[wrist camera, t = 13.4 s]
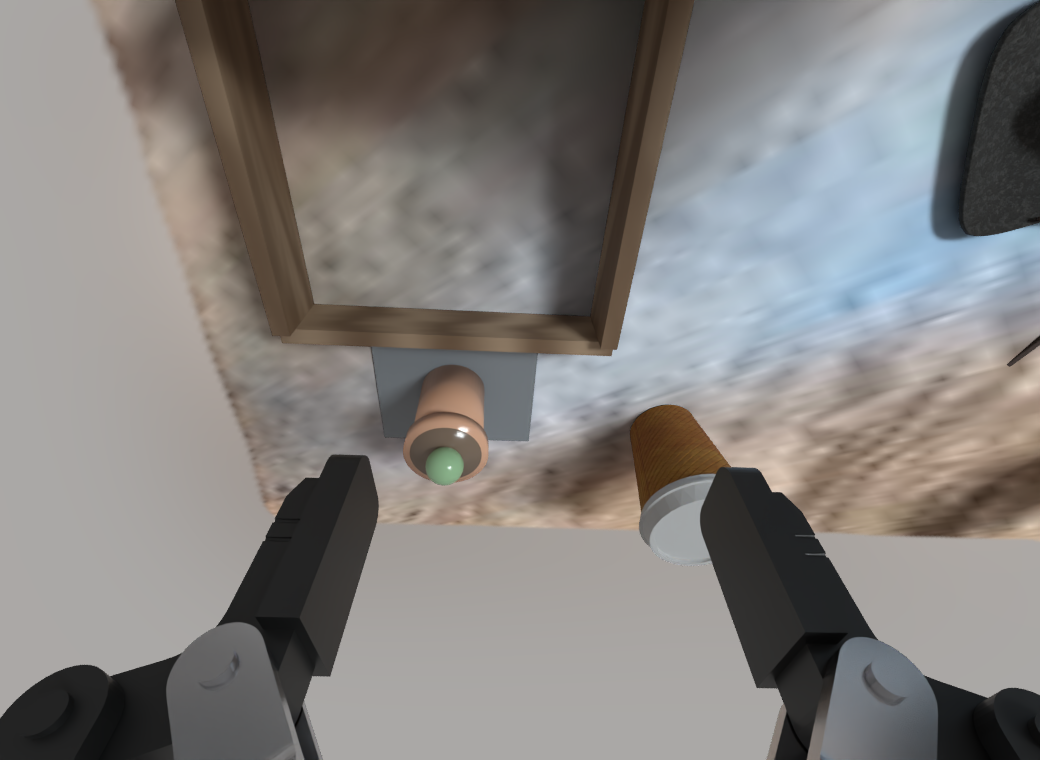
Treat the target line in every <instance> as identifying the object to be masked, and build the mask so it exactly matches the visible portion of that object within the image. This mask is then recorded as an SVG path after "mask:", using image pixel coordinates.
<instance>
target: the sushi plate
mask: <svg viewBox="0 0 1040 760" xmlns="http://www.w3.org/2000/svg"><path fill="white" fill-rule="evenodd" d="M959 222H960V225H961V228H962V229H963V231H964V232H965V233H966V234H969V235H973V236H988V235H994V234H999V233H1004V232H1008V231H1012V230H1015V229H1019V228H1023V227H1026V226H1030V225H1033V224H1036V223H1040V2H1038V3H1036V4H1035V5H1033V6H1032V7H1031V8H1029V9H1028V10H1026V11H1025V12H1024V13H1022V14H1021V15H1020V16H1019V17H1018V18H1017V19H1015V20H1014V21H1013V22H1012V23H1011V24H1010V25H1009V26H1008V28H1007V29H1006V30H1005V32H1004V33H1003V35H1002V36H1001V38H1000V39H999V41H998V43H997V45H996V47H995V49H994V51H993V53H992V56H991V58H990V61H989V64H988V66H987V69H986V72H985V75H984V79H983V82H982V86H981V90H980V94H979V98H978V102H977V107H976V111H975V116H974V120H973V125H972V130H971V136H970V141H969V146H968V151H967V156H966V161H965V166H964V172H963V178H962V184H961V190H960V198H959ZM1039 345H1040V336H1039V337H1038V338H1037V339H1036V340H1035V341H1034V342H1032V343H1031V344H1030V345H1029V346H1028V347H1026V348H1025V349H1024V350H1023V351H1022V352H1021V353H1019V354H1018V355H1017V356H1016V357H1015V358H1014V359H1012V360H1011V361H1010V362H1009V363H1008V364H1007V365H1008V366H1009V367H1010V366H1012V365H1013V364H1015V363H1016V362H1017V361H1019V360H1020V359H1021V358H1023V357H1024V356H1026V355H1027V354H1028V353H1030V352H1031V351H1032V350H1034V349H1035V348H1036V347H1038V346H1039Z"/></svg>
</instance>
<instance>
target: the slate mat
mask: <svg viewBox="0 0 1040 760" xmlns="http://www.w3.org/2000/svg"><path fill="white" fill-rule="evenodd" d="M371 348H372V354H373V361H374V368H375V375H376V382H377V388H378V395H379V402H380V409H381V416H382V422H383V429H384V436H385V437H393V438H406V434H407V431H408V430H409V428H410V426H411V425H412V424H413V423H414V422H415V417H416V412H417V407H418V403H419V398H420V393H421V388H422V384H423V381H424V379H425V377H426V376H427V374H428V373H429V372H431V371H432V370H434V369H435V368H438V367H440V366H444V365H459V366H463V367H466V368H469V369H470V370H472V371H474V372H475V373H476V374H477V375H478V376H479V377H480V378H481V380H482V382H483V384H484V389H485V396H484V430H485V432H486V434H487V437H488V440H501V441H529V432H530V422H531V413H532V403H533V393H534V384H535V374H536V364H537V354H538V353H521V352H496V351H470V350H445V349H420V348H395V347H371Z"/></svg>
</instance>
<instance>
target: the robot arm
mask: <svg viewBox="0 0 1040 760" xmlns="http://www.w3.org/2000/svg"><path fill="white" fill-rule="evenodd" d="M378 507H379V504H378V495H377V491H376V487H375V483H374V478H373V474H372V470H371V466H370V461H369V458H368V457H367V456H366V455H331V456H330V457H329V459H328V460H327V462H326V464H325V467H324V469H323V471H322V473H321V475H320V477H319V478H305V479H304V480H303V481H302V482H301V483H300V484H299V485H298V486H296V487H295V488H294V489H293V490H292V491H291V492H290V493H289V494H288V495H287V496H286V498H285V500H284V502H283V504H282V506H281V508H280V510H279V512H278V513H277V515H276V517H275V522H274V523H272V525H271V527H270V529H269V531H268V533H267V535H266V540H265V541H263V542H262V545H261V546H260V548H259V550H258V552H257V554H256V556H255V558H254V560H253V562H252V564H251V566H250V568H249V570H248V571H247V573H246V575H245V577H244V579H243V581H242V583H241V585H240V587H239V589H238V591H237V593H236V595H235V597H234V599H233V600H232V602H231V604H230V607H229V608H228V610H227V612H226V614H225V615H224V617H223V618H222V620H221V621H220V622H219V624H218V625H217V626H216V627H215V628H213V629H211V630H209V631H208V632H206V633H204V634H203V635H201V636H200V637H198V638H197V639H196V640H195V641H193V642H192V643H191V644H190V645H189V646H188V647H187V648H186V649H185V651H184V652H183V653H181V654H179V655H177V656H174V657H172V658H169V659H166V660H163V661H160V662H156V663H153V664H150V665H146V666H143V667H139V668H136V669H133V670H129V671H126V672H123V673H120V674H116V675H113V676H109V675H107V674H106V673H105V672H104V671H103V670H101V669H99V668H98V667H95V666H92V665H78V666H73V667H69V668H65V669H63V670H61V671H58V672H55V673H53V674H52V675H50V676H48V677H46V678H44V679H43V680H41V681H40V682H38V683H37V684H35V685H34V686H32V687H31V688H30V689H28V690H27V691H26V692H25V693H23V694H22V695H21V696H20V697H19V698H18V699H17V700H16V701H15V702H14V703H13V704H12V705H11V706H10V707H9V708H8V709H7V710H6V712H5V713H4V714H3V716H2V717H1V718H0V760H323V758H322V755H321V752H320V749H319V746H318V743H317V739H316V737H315V733H314V730H313V727H312V725H311V721H310V718H309V715H308V712H307V709H306V705H305V703H304V698H305V696H306V693H307V690H308V687H309V684H310V681H311V678H312V676H330V675H331V672H332V668H333V665H334V661H335V658H336V655H337V652H338V648H339V645H340V642H341V638H342V635H343V632H344V629H345V625H346V622H347V619H348V616H349V612H350V609H351V605H352V602H353V599H354V596H355V593H356V589H357V586H358V582H359V579H360V576H361V573H362V569H363V566H364V563H365V560H366V556H367V553H368V549H369V546H370V543H371V540H372V536H373V533H374V530H375V527H376V523H377V518H378ZM700 527H701V532H702V536H703V539H704V542H705V544H706V547H707V550H708V553H709V556H710V558H711V561H712V564H713V567H714V569H715V572H716V575H717V578H718V581H719V583H720V586H721V589H722V592H723V595H724V597H725V600H726V603H727V606H728V609H729V611H730V614H731V617H732V620H733V622H734V625H735V628H736V631H737V634H738V636H739V639H740V642H741V645H742V648H743V651H744V653H745V656H746V659H747V662H748V664H749V667H750V670H751V673H752V676H753V678H754V681H755V684H756V687H757V688H778V690H779V692H780V695H781V697H782V700H783V702H784V704H783V705H782V706H781V708H780V711H779V714H778V718H777V722H776V726H775V730H774V734H773V737H772V741H771V745H770V748H769V753H768V756H767V760H1040V695H1038V694H1036V693H1033V692H1031V691H1027V690H1024V689H1019V688H1007V689H1003V690H1001V691H1000V692H998V693H996V694H994V695H993V696H991V697H989V698H986V697H983V696H981V695H977V694H975V693H972V692H969V691H966V690H963V689H960V688H957V687H954V686H952V685H948V684H946V683H943V682H940V681H937V680H934V679H931V678H929V677H927V676H924V675H923V674H922V673H921V671H920V670H918V668H917V667H916V666H915V665H914V664H913V663H912V662H911V661H910V660H909V659H908V658H907V657H905V656H904V655H903V654H902V653H900V652H899V651H897V650H896V649H894V648H893V647H891V646H889V645H887V644H885V643H883V642H881V641H879V640H878V639H877V638H876V637H875V635H874V634H873V632H872V631H871V629H870V628H869V626H868V624H867V623H866V621H865V619H864V618H863V616H862V614H861V613H860V611H859V609H858V607H857V606H856V604H855V602H854V600H853V599H852V597H851V595H850V594H849V592H848V590H847V588H846V587H845V585H844V583H843V582H842V580H841V578H840V576H839V575H838V573H837V571H836V570H835V568H834V566H833V564H832V563H831V561H830V560H829V558H827V557H826V556H825V551H824V549H823V547H822V546H821V544H820V542H819V541H818V539H815V537H814V536H815V534H814V532H813V530H812V529H811V527H810V525H809V523H808V522H807V520H806V518H805V517H804V515H803V513H802V512H801V511H800V510H799V509H798V508H797V507H796V506H795V505H794V504H793V503H792V502H791V501H790V500H789V499H788V498H787V497H786V496H785V495H783V494H782V493H781V492H772V491H771V490H770V488H769V486H768V484H767V482H766V480H765V479H764V477H763V475H762V473H761V472H760V471H759V470H758V469H756V468H739V467H721V468H719V469H718V471H717V473H716V475H715V477H714V480H713V482H712V484H711V486H710V489H709V491H708V493H707V496H706V498H705V500H704V503H703V505H702V508H701V512H700Z"/></svg>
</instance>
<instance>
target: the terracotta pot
mask: <svg viewBox="0 0 1040 760" xmlns="http://www.w3.org/2000/svg"><path fill="white" fill-rule="evenodd" d="M484 396H485V389H484V384H483V382H482V380H481V378H480V377H479V376H478V375H477V374H476V373H475V372H474V371H472V370H470V369H469V368H466V367H463V366H459V365H444V366H440V367H438V368H435V369H434V370H432V371H431V372H429V373H428V374H427V376H426V377H425V379H424V381H423V384H422V388H421V393H420V398H419V403H418V407H417V412H416V417H415V422H414V423H413V424H412V425H411V426H410V428H409V430H408V431H407V434H406V438H405V443H404V448H403V455H404V459H405V461H406V463H407V465H408V466H409V467H410V468H411V469H412V470H413V471H414V472H415V473H416V474H418V475H419V476H421V477H423V478H426V479H428V480H431V481H433V482H434V483H436V484H438V485H450V484H452V483H454V482H460V481H464V480H467V479H469V478H471V477H473V476H475V475H476V474H478V473H479V472H480V471H481V470H482V469H483V468H484V466H485V465H486V463H487V460H488V437H487V434H486V432H485V430H484Z"/></svg>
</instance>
